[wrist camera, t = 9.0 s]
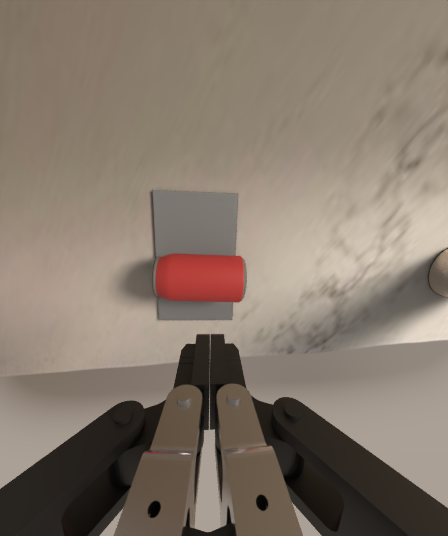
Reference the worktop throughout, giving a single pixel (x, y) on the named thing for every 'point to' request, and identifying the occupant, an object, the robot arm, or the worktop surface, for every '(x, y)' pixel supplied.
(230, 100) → the worktop surface
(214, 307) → the slate mat
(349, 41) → the worktop surface
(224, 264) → the beer can
